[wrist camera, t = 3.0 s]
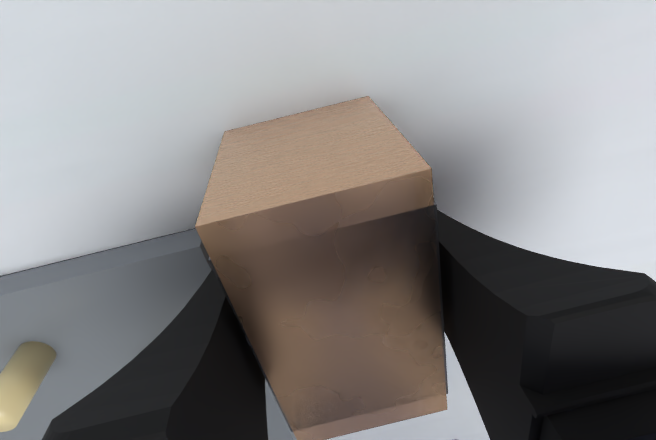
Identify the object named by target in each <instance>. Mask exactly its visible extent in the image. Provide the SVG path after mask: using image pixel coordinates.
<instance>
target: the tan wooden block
mask: <svg viewBox="0 0 656 440" xmlns="http://www.w3.org/2000/svg"><path fill="white" fill-rule="evenodd" d="M195 228H196V230H197V232H198V234H199V236H200V238H201V240H202V242H203V244H204V247H205V249H206V251H207V253H208V255H209V260H208V261H209V263H210V265H211V267H212V269H213V271H214V273H215V275H216V277H217V279H218V281H219V283H220V286H221V288H222V290H223V292H224V294H225V296H226V298H227V300H228V302H229V304H230V306H231V308H232V310H233V312H234V315H235V317H236V319H237V321H238V323H239V325H240V327H241V329H242V331H243V333H244V335H245V337H246V339H247V341H248V344H249V346H250V348H251V350H252V352H253V354H254V356H255V358H256V360H257V362H258V364H259V366H260V368H261V370H262V373H263V375H264V377H265V379H266V381H267V383H268V385H269V387H270V389H271V391H272V393H273V395H274V397H275V399H276V402H277V404H278V406H279V408H280V410H281V412H282V414H283V416H284V418H285V420H286V422H287V424H288V426H289V428H290V431H291V432H293V433H294V435H295V437H296V439H297V440H325V439H329V438H333V437H337V436H341V435H346V434H350V433H354V432H358V431H362V430H366V429H370V428H374V427H378V426H382V425H386V424H390V423H394V422H398V421H403V420H407V419H411V418H415V417H419V416H423V415H427V414H431V413H435V412H439V411H443V410H447V397H446V394H448V386H447V369H446V353H445V337H444V320H443V304H442V287H441V271H440V255H439V238H438V222H437V206H436V203H435V202H434V198H433V183H432V168H431V167H430V166H429V165H428V164H427V163H426V162H425V160H424V159H423V158H422V157H421V156H420V155H419V153H418V152H417V151H416V150H415V149H414V148H413V147H412V145H411V144H410V143H409V142H408V141H407V140H406V139H405V137H404V136H403V135H402V134H401V133H400V132H399V131H398V129H397V128H396V127H395V126H394V125H393V124H392V123H391V121H390V120H389V119H388V118H387V117H386V116H385V115H384V113H383V112H382V111H381V110H380V109H379V108H378V107H377V105H376V104H375V103H374V102H373V101H372V100H371V99H370V97H369V96H366V97H362V98H358V99H354V100H350V101H346V102H342V103H338V104H334V105H330V106H326V107H322V108H318V109H314V110H310V111H306V112H302V113H297V114H293V115H289V116H285V117H281V118H277V119H273V120H269V121H265V122H261V123H257V124H253V125H249V126H245V127H241V128H237V129H233V130H229V131H224V134H223V138H222V141H221V144H220V147H219V151H218V154H217V157H216V160H215V164H214V167H213V170H212V173H211V177H210V180H209V183H208V186H207V190H206V193H205V196H204V199H203V202H202V206H201V209H200V212H199V215H198V219H197V222H196V225H195Z"/></svg>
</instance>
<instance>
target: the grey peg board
mask: <svg viewBox="0 0 656 440" xmlns="http://www.w3.org/2000/svg"><path fill="white" fill-rule="evenodd" d="M208 260H209V255H208V253H207V251H206V249H205V247H204V244H203V242H202V240H201V238H200V236H199V234H198V232H197V230H196V229H192V230H188V231H184V232H180V233H176V234H172V235H168V236H164V237H160V238H156V239H152V240H147V241H143V242H139V243H135V244H131V245H127V246H123V247H119V248H115V249H111V250H107V251H103V252H99V253H95V254H90V255H86V256H82V257H78V258H74V259H70V260H66V261H62V262H58V263H54V264H50V265H46V266H42V267H38V268H34V269H29V270H25V271H21V272H17V273H13V274H9V275H5V276H1V277H0V440H42V438H43V436H44V434H45V432H46V430H47V428H48V426H49V424H50V422H51V421H52V419H53V418H55V417H56V416H58V415H60V414H61V413H62V412H64V411H65V410H67V409H68V408H70V407H71V406H72V405H74V404H75V403H77V402H78V401H80V400H81V399H82V398H84V397H85V396H87V395H88V394H90V393H91V392H92V391H94V390H95V389H96V388H98V387H99V386H100V385H102V384H103V383H104V382H106V381H107V380H108V379H109V378H111V377H112V376H113V375H114V374H116V373H117V372H118V371H119V370H121V369H122V368H123V367H124V366H125V365H127V364H128V363H129V362H130V361H131V360H132V359H134V358H135V357H136V356H137V355H138V354H139V353H140V352H141V351H142V350H143V349H144V348H145V347H146V346H148V345H149V344H150V343H151V342H152V341H153V340H154V339H155V338H156V337H157V336H158V335H159V334H160V333H161V332H162V331H163V330H164V329H165V328H166V327H167V326H168V325H169V324H170V323H171V322H172V320H173V319H174V318H175V317H176V316H177V315H178V314H179V313H180V311H181V310H182V309H183V308H184V307H185V305H186V304H187V303H188V302H189V300H190V299H191V298H192V296H193V295H194V294H195V292H196V291H197V290H198V289H199V287H200V286H201V285H202V283H203V282H204V280H205V279H206V277H207V276H208V275H209V273H210V272H211V270H212V267H211V265H210V263H209V261H208ZM265 393H266V413H267V429H268V440H297V439H296V437H295V435H294V433H293V432H291V431H290V428H289V426H288V424H287V422H286V420H285V418H284V416H283V414H282V412H281V410H280V408H279V406H278V404H277V402H276V399H275V397H274V395H273V393H272V391H271V389H270V387H269V385H268V383H267V381H266V379H265Z"/></svg>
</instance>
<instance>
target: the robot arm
mask: <svg viewBox="0 0 656 440" xmlns="http://www.w3.org/2000/svg"><path fill="white" fill-rule="evenodd" d="M437 222H438V238H439V255H440V271H441V287H442V304H443V320H444V331H445V333H446V335H447V337H448V339H449V341H450V343H451V346H452V348H453V350H454V353H455V355H456V357H457V359H458V362H459V364H460V366H461V369H462V371H463V373H464V376H465V378H466V381H467V383H468V385H469V388H470V390H471V393H472V395H473V397H474V400H475V402H476V405H477V407H478V410H479V412H480V415H481V417H482V420H483V422H484V425H485V427H486V430H487V432H488V435H489V438H490V440H656V282H655V281H654V280H653V279H652V278H650V277H649V276H647V275H646V274H644V273H638V272H630V271H623V270H616V269H609V268H602V267H595V266H590V265H585V264H580V263H575V262H570V261H566V260H561V259H557V258H553V257H549V256H546V255H542V254H538V253H535V252H531V251H528V250H525V249H522V248H519V247H516V246H513V245H510V244H507V243H505V242H502V241H499V240H497V239H494V238H492V237H489V236H487V235H485V234H483V233H480V232H478V231H476V230H474V229H472V228H470V227H468V226H466V225H464V224H462V223H460V222H458V221H456V220H454V219H452V218H451V217H449V216H447V215H445V214H444V213H442V212H440V211H438V210H437ZM42 440H268V429H267V413H266V393H265V377H264V375H263V373H262V370H261V368H260V366H259V364H258V362H257V360H256V358H255V356H254V354H253V352H252V350H251V348H250V346H249V344H248V341H247V339H246V337H245V335H244V333H243V331H242V329H241V327H240V325H239V323H238V321H237V319H236V317H235V315H234V312H233V310H232V308H231V306H230V304H229V302H228V300H227V298H226V296H225V294H224V292H223V290H222V288H221V286H220V283H219V281H218V279H217V277H216V275H215V273H214V271H213V269H212V270H211V272H210V273H209V275H208V276H207V277H206V279H205V280H204V282H203V283H202V285H201V286H200V287H199V289H198V290H197V291H196V292H195V294H194V295H193V296H192V298H191V299H190V300H189V302H188V303H187V304H186V305H185V307H184V308H183V309H182V310H181V311H180V313H179V314H178V315H177V316H176V317H175V318H174V319H173V320H172V322H171V323H170V324H169V325H168V326H167V327H166V328H165V329H164V330H163V331H162V332H161V333H160V334H159V335H158V336H157V337H156V338H155V339H154V340H153V341H152V342H151V343H150V344H149V345H148V346H146V347H145V348H144V349H143V350H142V351H141V352H140V353H139V354H138V355H137V356H136V357H135V358H134V359H132V360H131V361H130V362H129V363H128V364H127V365H125V366H124V367H123V368H122V369H121V370H119V371H118V372H117V373H116V374H114V375H113V376H112V377H111V378H109V379H108V380H107V381H106V382H104V383H103V384H102V385H100V386H99V387H98V388H96V389H95V390H94V391H92V392H91V393H90V394H88V395H87V396H85V397H84V398H82V399H81V400H80V401H78V402H77V403H75V404H74V405H72V406H71V407H70V408H68V409H67V410H65V411H64V412H62V413H61V414H60V415H58V416H56V417H55V418H53V419H52V421H51V422H50V424H49V426H48V428H47V430H46V432H45V434H44V436H43V438H42ZM454 440H457V439H454Z"/></svg>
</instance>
